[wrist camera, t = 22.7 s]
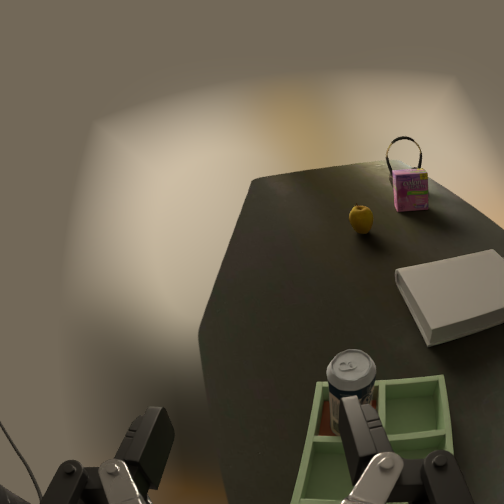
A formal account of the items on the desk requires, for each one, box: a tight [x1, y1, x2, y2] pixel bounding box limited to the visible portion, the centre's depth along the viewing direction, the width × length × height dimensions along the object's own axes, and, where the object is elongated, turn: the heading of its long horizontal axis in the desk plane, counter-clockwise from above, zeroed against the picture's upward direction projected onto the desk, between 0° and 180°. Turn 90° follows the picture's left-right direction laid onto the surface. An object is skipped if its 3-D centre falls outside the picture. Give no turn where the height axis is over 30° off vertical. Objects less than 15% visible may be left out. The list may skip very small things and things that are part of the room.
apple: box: [349, 203, 373, 234], centre depth 73 cm, size 6×6×8 cm
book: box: [395, 249, 504, 347], centre depth 42 cm, size 18×4×24 cm
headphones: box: [386, 136, 422, 188], centre depth 90 cm, size 9×15×20 cm, turn 90°
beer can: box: [327, 349, 376, 436], centre depth 28 cm, size 5×5×12 cm
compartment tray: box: [291, 375, 454, 504], centre depth 25 cm, size 16×16×4 cm
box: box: [392, 168, 428, 212], centre depth 79 cm, size 10×6×12 cm, turn 75°
